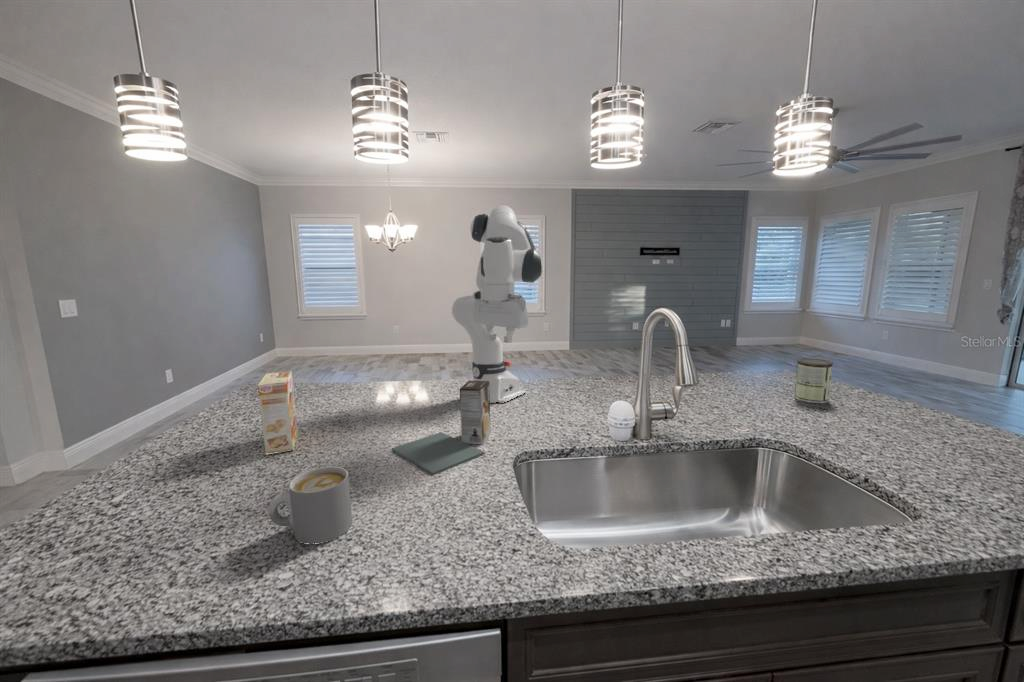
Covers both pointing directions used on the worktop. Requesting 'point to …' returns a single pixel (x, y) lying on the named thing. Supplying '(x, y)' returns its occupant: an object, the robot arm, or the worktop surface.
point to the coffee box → (475, 412)
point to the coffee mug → (316, 505)
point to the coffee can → (813, 380)
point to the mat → (437, 452)
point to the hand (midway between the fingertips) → (500, 341)
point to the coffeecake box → (278, 411)
